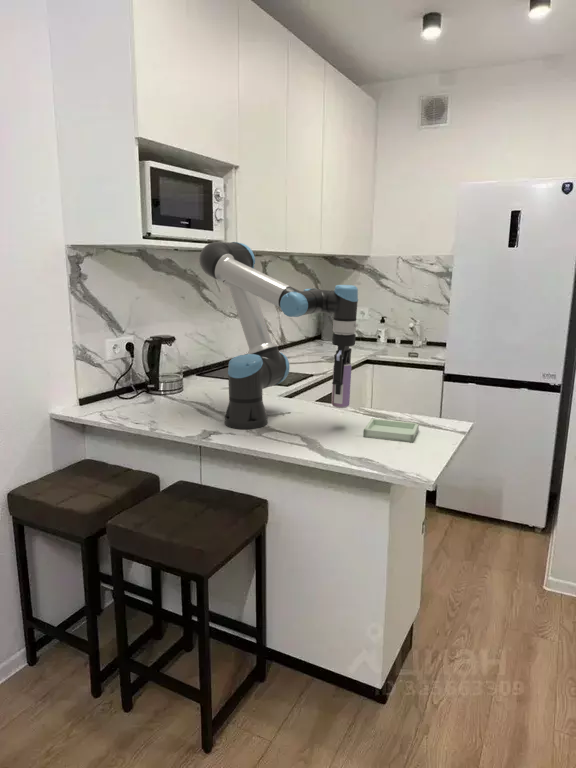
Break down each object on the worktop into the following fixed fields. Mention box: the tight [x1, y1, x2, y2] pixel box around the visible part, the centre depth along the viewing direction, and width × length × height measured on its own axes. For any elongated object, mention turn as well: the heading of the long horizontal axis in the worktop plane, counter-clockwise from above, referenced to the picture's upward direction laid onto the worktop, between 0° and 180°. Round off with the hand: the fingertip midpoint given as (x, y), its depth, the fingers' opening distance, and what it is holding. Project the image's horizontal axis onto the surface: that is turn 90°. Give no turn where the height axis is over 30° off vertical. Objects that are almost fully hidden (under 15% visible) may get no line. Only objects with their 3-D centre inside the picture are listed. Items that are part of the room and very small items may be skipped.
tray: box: [363, 417, 420, 443], centre depth 183 cm, size 16×13×2 cm
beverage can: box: [331, 362, 352, 409], centre depth 185 cm, size 6×6×15 cm
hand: (340, 400), depth 187 cm, fingers closed on beverage can, 6 cm apart
